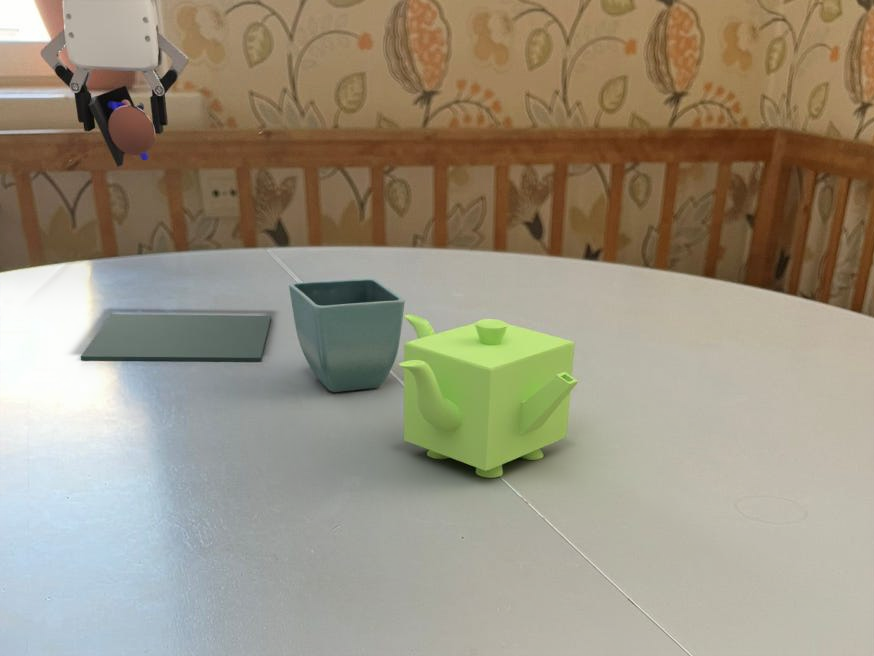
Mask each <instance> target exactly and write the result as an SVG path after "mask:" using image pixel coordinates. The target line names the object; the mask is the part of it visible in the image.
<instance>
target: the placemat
mask: <svg viewBox="0 0 874 656" xmlns="http://www.w3.org/2000/svg"><path fill="white" fill-rule="evenodd" d="M271 322H272V315H241V314H239V315H237V314H236V315H233V314H232V315H230V314H226V315H225V314H222V315H221V314H154V313H153V314H151V313H149V314H146V313H143V314H141V313H139V314H137V313H134V314H133V313H110V315H109V316H108V318H107V319H106V320H105V322H104V323H103V324H102V326H101V327H100V329H99V330H98V332H97V333H96V335H95V336H94V337H93V339H92V340H91V342H90V343H89V344H88V346H87V347H86V349H85V350H84V351H83V352H82V353H81V355H80V361H129V362H131V361H134V362H136V361H137V362H138V361H140V362H142V361H143V362H145V361H148V362H149V361H151V362H155V361H156V362H164V361H165V362H262V359H263V356H264V351H265V347H266V342H267V339H268V335H269V330H270V327H271Z"/></svg>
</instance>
